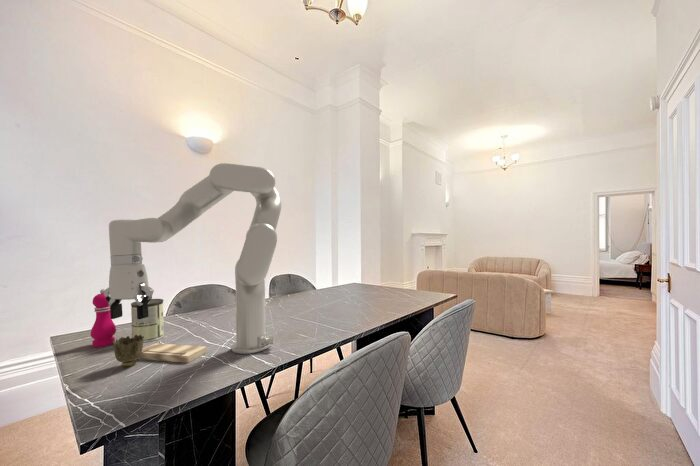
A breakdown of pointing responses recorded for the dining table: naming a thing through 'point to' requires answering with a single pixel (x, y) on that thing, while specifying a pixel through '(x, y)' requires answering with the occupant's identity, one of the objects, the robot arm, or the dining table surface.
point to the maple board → (172, 352)
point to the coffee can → (148, 321)
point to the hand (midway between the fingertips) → (129, 318)
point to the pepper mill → (102, 322)
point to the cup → (128, 350)
